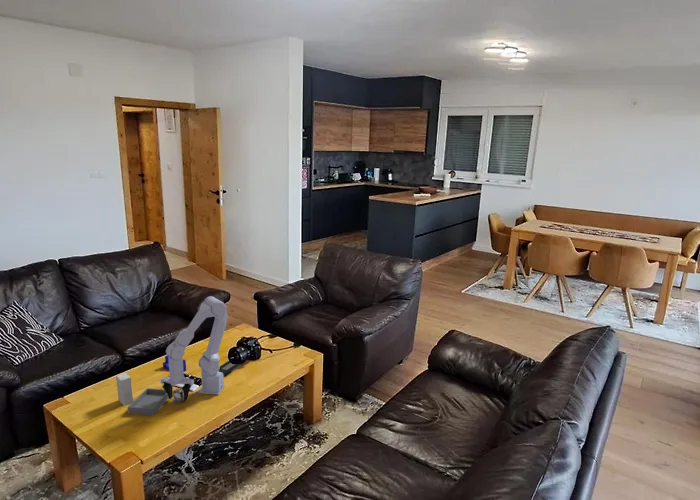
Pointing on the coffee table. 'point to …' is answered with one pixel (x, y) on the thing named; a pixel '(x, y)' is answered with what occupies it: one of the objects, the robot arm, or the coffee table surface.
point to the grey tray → (148, 402)
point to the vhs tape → (228, 368)
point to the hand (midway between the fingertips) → (178, 398)
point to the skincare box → (124, 388)
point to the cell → (178, 396)
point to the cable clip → (166, 363)
